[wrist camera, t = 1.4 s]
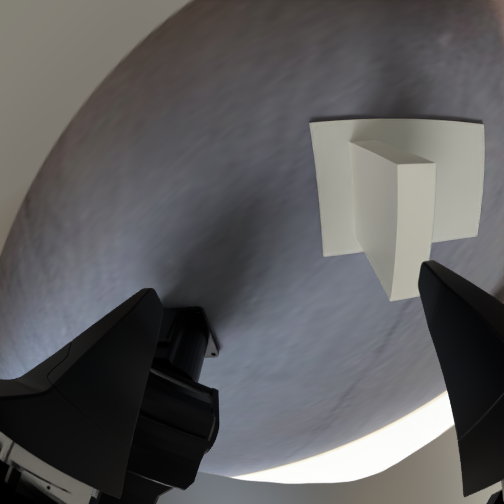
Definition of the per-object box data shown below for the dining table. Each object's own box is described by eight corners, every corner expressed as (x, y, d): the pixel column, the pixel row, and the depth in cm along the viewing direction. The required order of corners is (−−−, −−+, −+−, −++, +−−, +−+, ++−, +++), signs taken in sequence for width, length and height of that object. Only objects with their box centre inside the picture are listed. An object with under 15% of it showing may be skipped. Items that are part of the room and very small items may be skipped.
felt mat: (474, 234, 19) (476, 236, 19) (322, 254, 22) (323, 256, 21) (480, 124, 15) (483, 124, 14) (309, 122, 17) (309, 123, 17)
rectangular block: (380, 232, 20) (424, 295, 13) (354, 235, 20) (390, 301, 13) (378, 140, 17) (438, 163, 10) (349, 141, 17) (397, 164, 10)
